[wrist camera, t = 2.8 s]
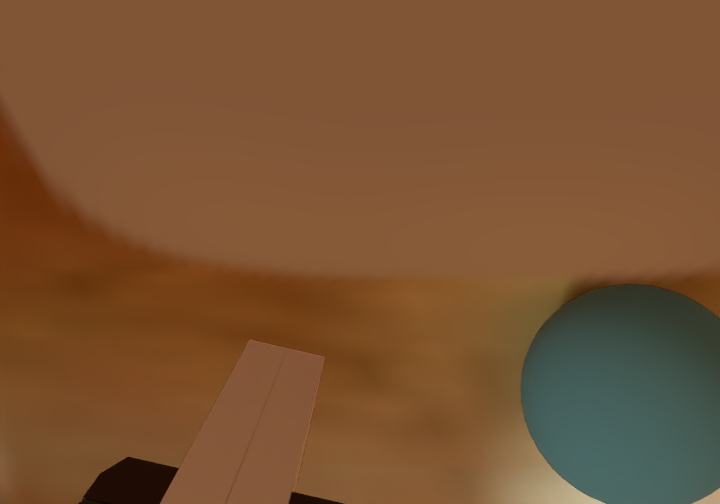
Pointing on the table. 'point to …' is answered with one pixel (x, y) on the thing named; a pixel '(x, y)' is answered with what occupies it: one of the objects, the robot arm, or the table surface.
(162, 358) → the table surface
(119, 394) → the table surface
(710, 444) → the ball
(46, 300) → the table surface
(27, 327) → the table surface
